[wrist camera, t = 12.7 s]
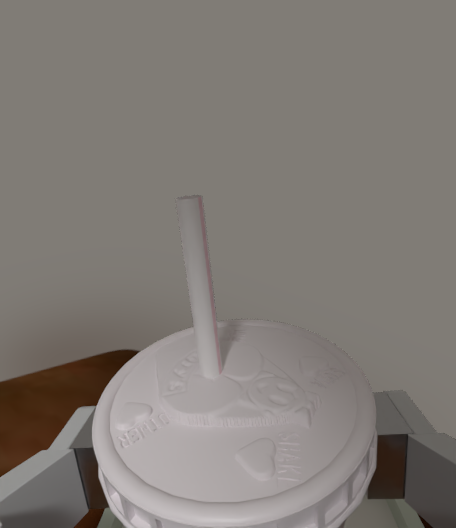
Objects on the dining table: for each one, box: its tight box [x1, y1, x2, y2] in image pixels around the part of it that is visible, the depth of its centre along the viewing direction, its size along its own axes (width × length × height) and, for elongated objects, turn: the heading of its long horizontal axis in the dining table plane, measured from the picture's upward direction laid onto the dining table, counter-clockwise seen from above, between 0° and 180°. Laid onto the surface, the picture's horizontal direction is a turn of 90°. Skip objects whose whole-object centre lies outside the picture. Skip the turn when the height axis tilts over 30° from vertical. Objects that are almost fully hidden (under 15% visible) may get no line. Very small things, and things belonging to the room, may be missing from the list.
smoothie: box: [92, 195, 378, 528], centre depth 9 cm, size 6×6×14 cm
